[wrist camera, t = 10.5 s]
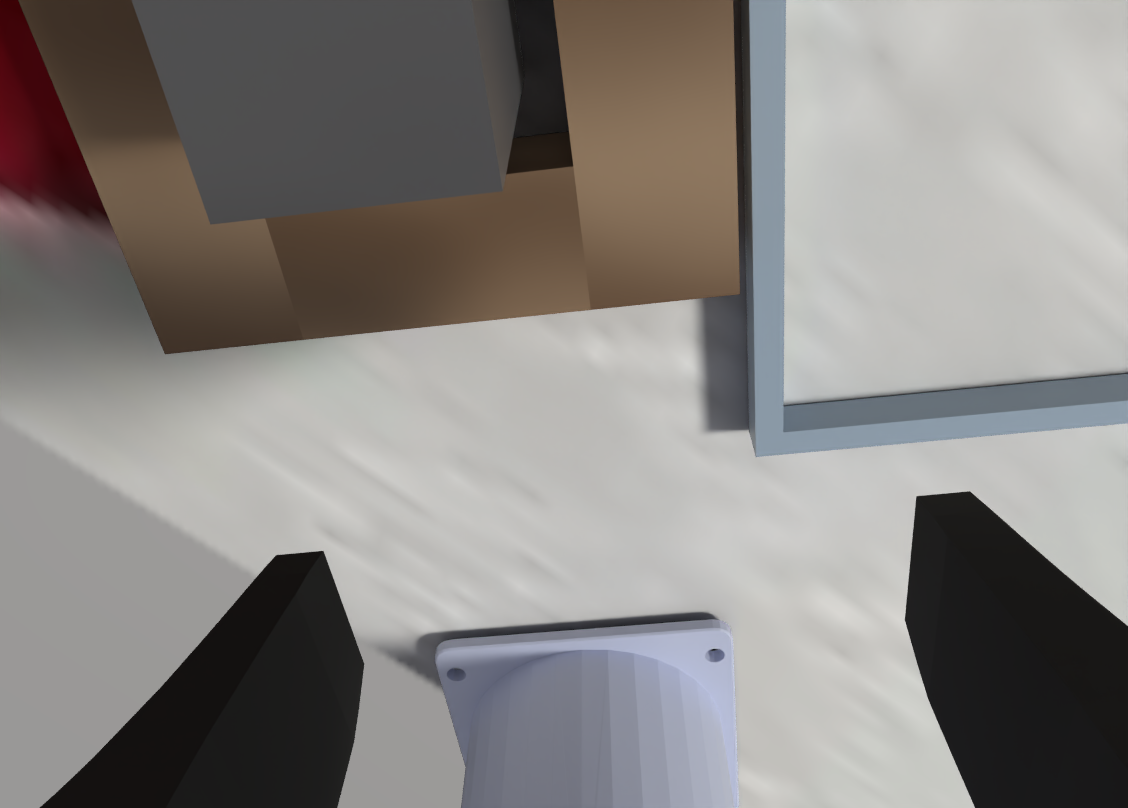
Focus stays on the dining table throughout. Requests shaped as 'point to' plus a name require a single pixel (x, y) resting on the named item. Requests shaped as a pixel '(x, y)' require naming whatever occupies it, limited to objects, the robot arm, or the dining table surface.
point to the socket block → (438, 226)
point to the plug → (337, 99)
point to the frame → (765, 312)
